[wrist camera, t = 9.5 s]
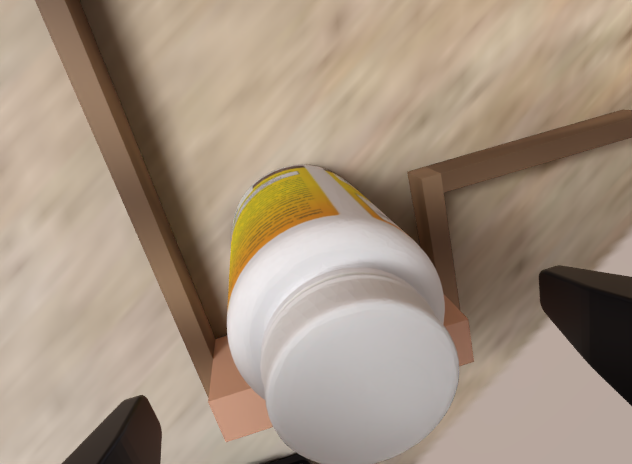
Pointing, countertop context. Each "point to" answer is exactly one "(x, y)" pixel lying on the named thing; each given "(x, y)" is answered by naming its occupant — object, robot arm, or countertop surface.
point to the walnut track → (153, 227)
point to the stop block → (250, 409)
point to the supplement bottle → (336, 320)
